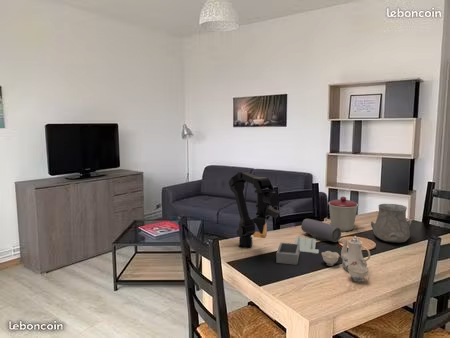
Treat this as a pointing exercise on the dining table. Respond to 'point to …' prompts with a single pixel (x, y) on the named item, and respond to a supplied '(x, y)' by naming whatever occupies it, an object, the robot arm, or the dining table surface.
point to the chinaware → (350, 258)
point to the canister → (343, 213)
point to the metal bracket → (306, 245)
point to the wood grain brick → (263, 235)
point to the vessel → (392, 223)
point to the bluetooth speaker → (321, 230)
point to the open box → (288, 253)
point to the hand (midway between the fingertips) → (262, 232)
